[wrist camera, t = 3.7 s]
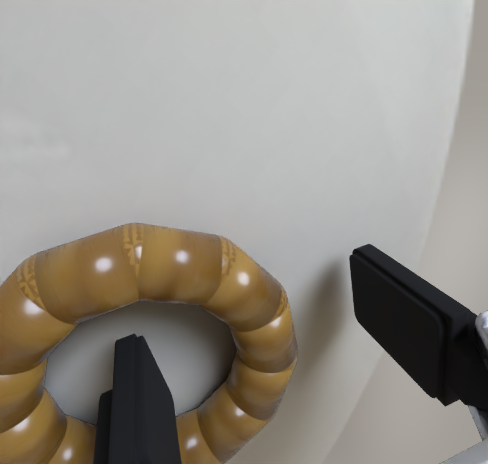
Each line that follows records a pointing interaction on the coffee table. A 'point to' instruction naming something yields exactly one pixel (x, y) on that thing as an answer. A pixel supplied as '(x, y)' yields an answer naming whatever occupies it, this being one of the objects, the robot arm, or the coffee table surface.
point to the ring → (125, 293)
